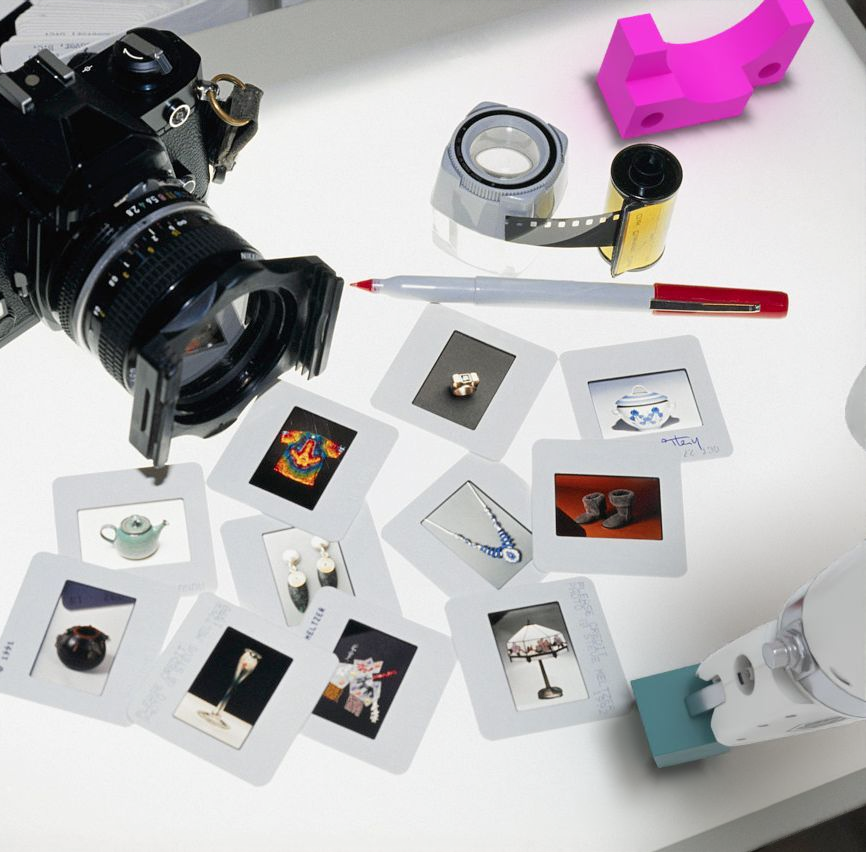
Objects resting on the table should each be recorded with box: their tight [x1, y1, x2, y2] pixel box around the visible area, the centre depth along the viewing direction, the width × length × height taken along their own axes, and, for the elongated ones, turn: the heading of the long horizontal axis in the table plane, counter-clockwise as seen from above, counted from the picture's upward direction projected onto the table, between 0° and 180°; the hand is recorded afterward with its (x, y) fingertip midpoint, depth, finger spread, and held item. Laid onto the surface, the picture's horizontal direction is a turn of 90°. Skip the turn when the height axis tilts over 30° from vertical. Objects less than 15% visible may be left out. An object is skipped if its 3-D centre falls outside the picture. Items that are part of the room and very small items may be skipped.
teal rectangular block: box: [629, 662, 731, 769], centre depth 76 cm, size 5×5×8 cm
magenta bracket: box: [595, 0, 815, 140], centre depth 98 cm, size 15×6×8 cm, turn 104°
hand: (736, 712), depth 78 cm, fingers closed
